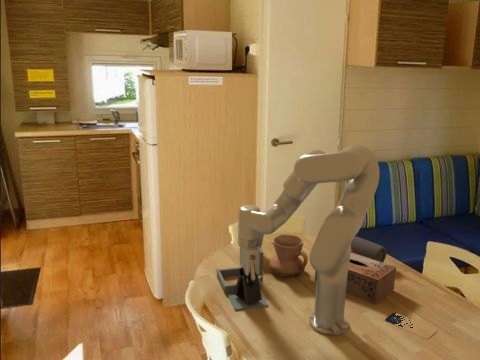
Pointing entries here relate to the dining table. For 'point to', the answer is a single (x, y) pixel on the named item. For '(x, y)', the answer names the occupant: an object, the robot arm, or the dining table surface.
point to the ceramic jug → (288, 256)
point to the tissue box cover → (369, 278)
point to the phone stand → (247, 289)
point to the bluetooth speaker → (368, 249)
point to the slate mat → (241, 305)
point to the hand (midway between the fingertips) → (248, 288)
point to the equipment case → (235, 272)
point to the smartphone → (396, 319)
